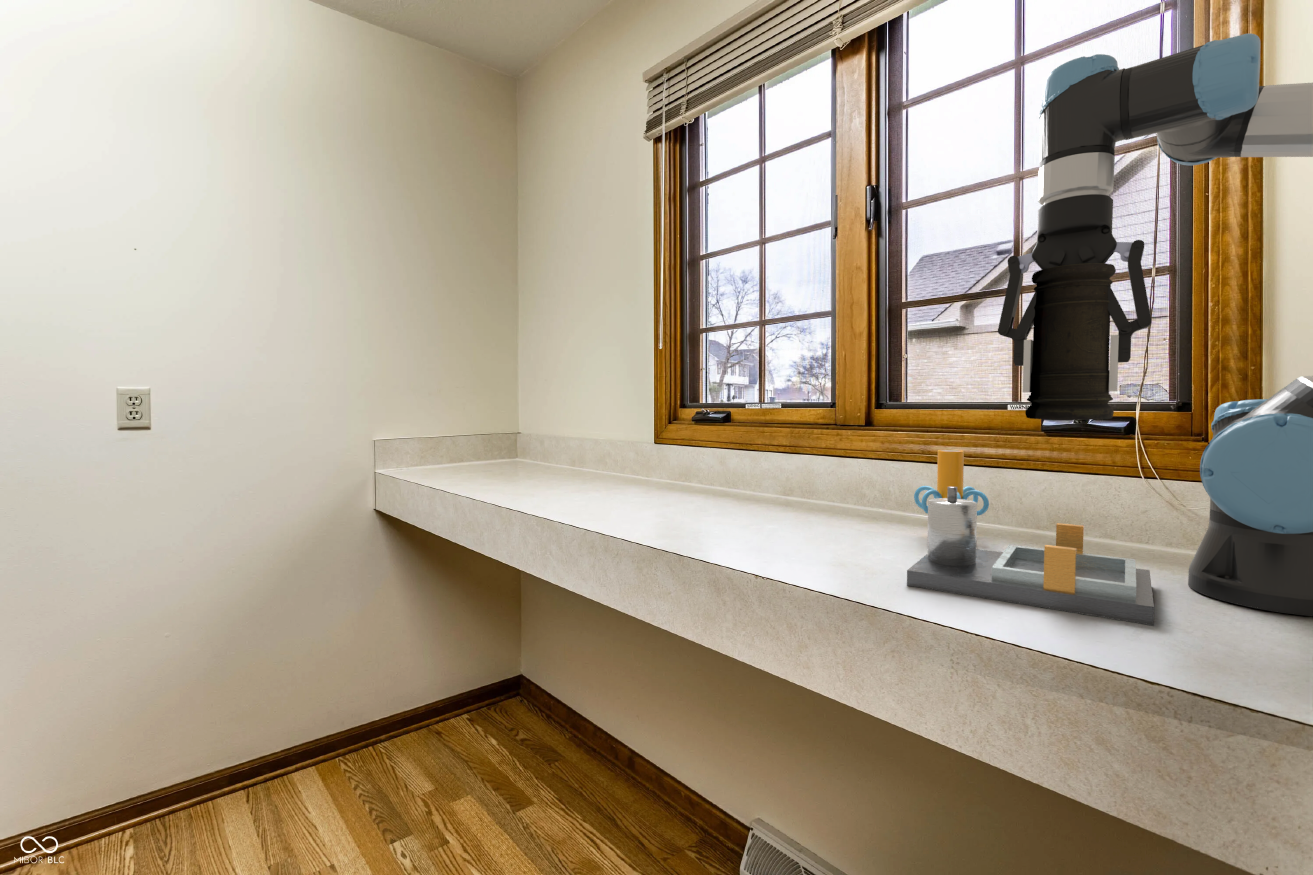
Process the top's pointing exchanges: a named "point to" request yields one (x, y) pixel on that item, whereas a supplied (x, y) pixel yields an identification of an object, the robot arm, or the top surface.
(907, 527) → the top surface
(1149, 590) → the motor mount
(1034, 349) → the container
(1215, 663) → the top surface
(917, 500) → the orange cylinder with loops
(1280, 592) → the robot arm
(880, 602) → the top surface
